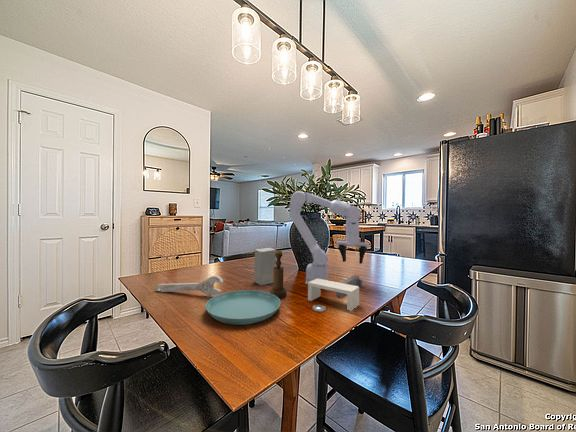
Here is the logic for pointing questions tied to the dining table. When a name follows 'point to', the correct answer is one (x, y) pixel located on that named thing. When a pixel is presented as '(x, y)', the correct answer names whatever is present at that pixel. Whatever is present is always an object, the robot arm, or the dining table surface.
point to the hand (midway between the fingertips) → (352, 262)
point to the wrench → (194, 286)
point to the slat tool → (351, 283)
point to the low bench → (350, 290)
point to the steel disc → (319, 308)
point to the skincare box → (264, 265)
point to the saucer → (242, 307)
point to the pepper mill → (278, 278)
